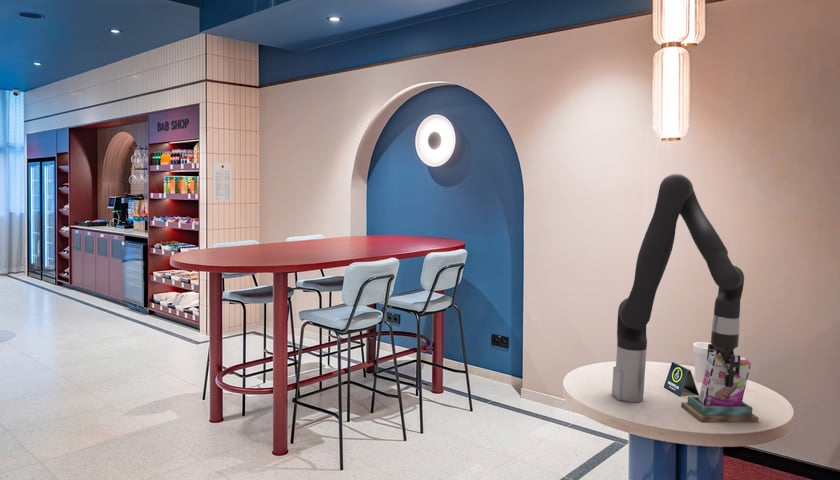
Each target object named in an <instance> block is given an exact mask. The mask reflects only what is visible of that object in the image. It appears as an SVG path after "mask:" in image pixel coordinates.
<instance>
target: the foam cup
mask: <svg viewBox="0 0 840 480" xmlns="http://www.w3.org/2000/svg"><path fill="white" fill-rule="evenodd" d="M708 344H711V342H704V341H697V342H694V343H693V344H692V346H693V347H692V350H693V363H694V377H695V380H696V381H697V382H700V383H703V378H704V374H705V369H706V365H707V353H708Z"/></svg>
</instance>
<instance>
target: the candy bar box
mask: <svg viewBox="0 0 840 480" xmlns="http://www.w3.org/2000/svg"><path fill="white" fill-rule="evenodd" d="M728 364H730V363H728ZM751 365H752V362H750V361H749V360H747V358H745V357H741V356H740V371H739V375H734V381H733V387H726V386H725V375H726V373H725V369H724V368H723V367H722V363H721V358H720V357H719V355H717V354H714V353H712V352H709V356H708V360H707V365H706V369H705V374H704V378H703V382H701V383H702V384H701V388H700V392H699V395H698V396H699V402H700V403H701V404H702V405H704V406H741V404H742V401H743V400H744V394H745V391H746V386H747V383H748V378H749V374H750V370H751ZM734 369H735V371H736V367H734ZM728 370H729V368H728Z"/></svg>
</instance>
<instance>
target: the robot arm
mask: <svg viewBox="0 0 840 480" xmlns="http://www.w3.org/2000/svg"><path fill="white" fill-rule="evenodd" d="M657 193H658V194H657V199H656V202H655V208H654V212H653V215H652V216H651V219H650V222H649V224H648V226H647V228H646V232H645V234H644V237H643V240H642V242H641V245H640V247H639V248H640V249H639V251H638V254H637V259H636V264H635V270H634V280H633V284H632V288H631V290H630V293H629V295H628V297H626V298H624V299H623V300H622V301H621V302H620V304H619V306H618V309H617V325H616V328H617V329H616V337H617V338H616V339H617V340H616V341H617V343H616V357H615V358H616V360H615V366H613V371H612V385H611V386H612V387H611V394H612V396H613V397H614V398H616V400H618V401H622V402H628V403H629V402H630V403H639V402H642V401H643V400H644V394H645V392H644V391H645V380H646V379H645V377H646V363H647V362H646V361H647V360H646V359H647V349H648V348H647V347H648V339H647V325H648V324H649V322H650V320H651V318H652V317H651V316H652V312H653V306H654V302H655V297H656V293H657V291H658V287H659V285H660V283H661V281H662V278H663V277H664V276H663V275H664V274H665V271H666V268H667V266H668V263H669V260H670V258H671V257H670V256H671V254H672V250H673V247H674V243H675V237H676V231H677V230H676V229H677V223H678V220H679V216H681V217H682V219H683V221H684V223H685V225H686V227H687V229H688V232H689V233H690V236H691V239H692V240H693V242H694V244H695V246H696V248H697V249H698V251H699V253H700V255H701V256H702V258H703V260H704V261H705V263H706V266H707V268H708V270H709V273H710V275H711V277H712V278H711V279H713V281H714V283H715V285H717V286H718V291H717V292H718V293H717V296H716V298H715V301H714V309H713V318H712V323H711V337H710V343H711V344H708V353H707V360H708V356H709V352H712V353H714V354H717V355H719V357H720V358H721V363H722V367H723V368H724V369H725V373H726V375H725V386H726V387H733V381H734V375H739V371H740V357H741V355H739V354H737V355H735V352H734V350H735V349H737V348H738V347H739V339H740V326H741V325H740V315H741V299H742V295H743V290H744V285H745V284H744V283H745V275H744V272H743V270H742V269H741V268H740V267H738V266H737V265H733V263H732V261H731V259H730V258H729V255H728V254H729V252H728V249H727V247H726V245H725V243H724V241H722V238H721V237H720V235H719V234H718V232H717V231H716V229H715V228H714V226H713V225H712V223H711V222H710V220H709V219H708V217H707V215H706V214H705V212H704V211H703V209H702V207H701V204H700V203H699V200H698V198H697V195H696V192H695V190H694V186H693V183H692V182H691V180H690V179H689V178H688V177H687V176H685V175H684V174H681V173H671V174H669V175H667V176H665V177H664V178H663V179H662V181H661V182H660V184H659V188H658V192H657ZM728 363H730V364H728ZM734 367H736V371H735V369H734ZM728 368H729V370H728Z"/></svg>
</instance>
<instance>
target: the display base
mask: <svg viewBox="0 0 840 480" xmlns="http://www.w3.org/2000/svg"><path fill="white" fill-rule="evenodd" d="M699 396H700V395H697V396H693V395H692V396H690V395H689V396H687V402H685V401H683V402H681V403H680V404H681V405H680V406H681V409H683V410H685V411H686V412H687V413H688V414H689V415H691V416H693V417H694V418H695V419H696V420H697V421H699V422H700V423H759V416H757V415H756V414H755V413H753V407H752V406H750V405H749V404H747V403H746V402H744V401H743V400H742V404H741V406H704V405H702V404H701V403H700V402H699Z"/></svg>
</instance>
